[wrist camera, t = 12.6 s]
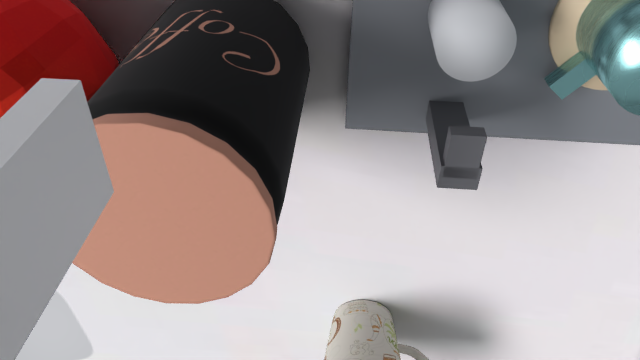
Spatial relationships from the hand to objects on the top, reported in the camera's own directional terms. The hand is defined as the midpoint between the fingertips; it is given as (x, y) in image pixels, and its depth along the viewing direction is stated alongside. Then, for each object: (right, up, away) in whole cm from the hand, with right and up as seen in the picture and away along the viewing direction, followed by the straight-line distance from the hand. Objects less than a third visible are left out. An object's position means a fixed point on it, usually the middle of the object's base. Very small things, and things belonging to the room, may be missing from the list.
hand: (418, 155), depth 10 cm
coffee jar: (-8, +9, +27) cm, 29 cm away
